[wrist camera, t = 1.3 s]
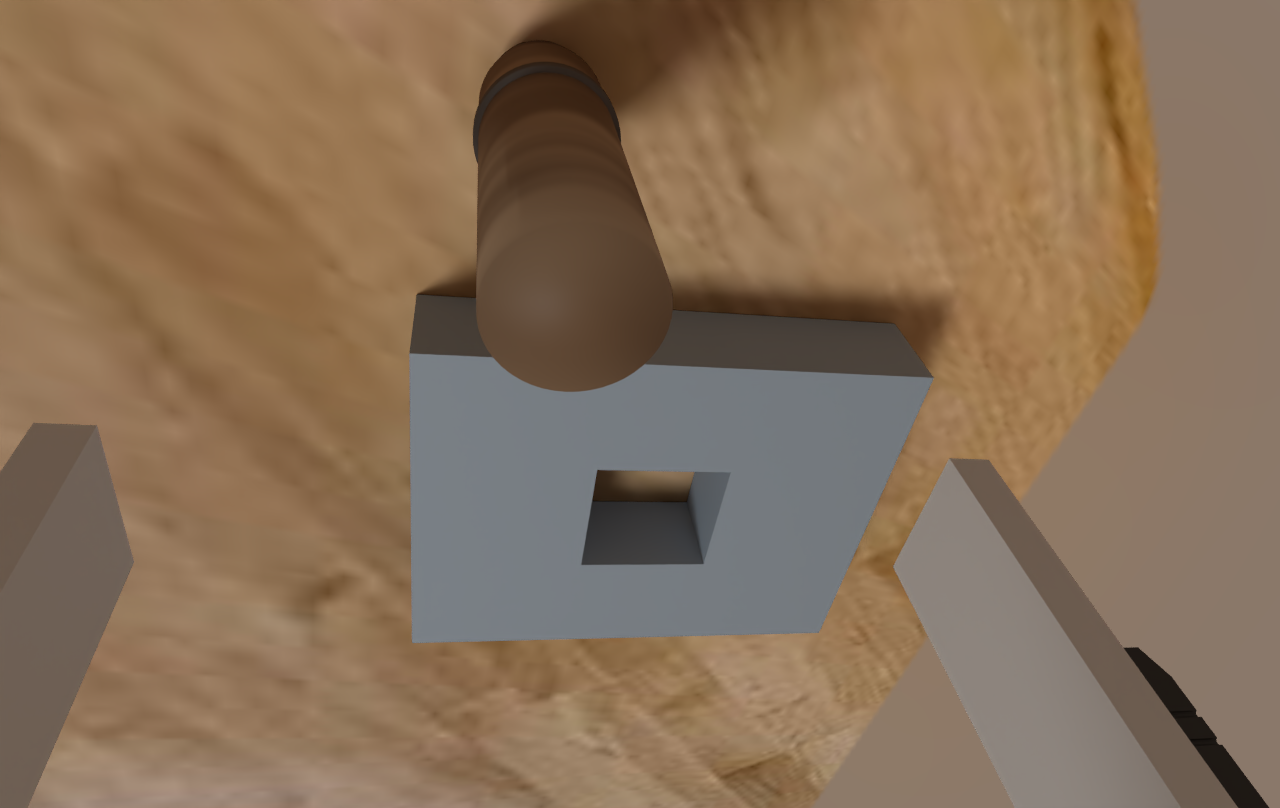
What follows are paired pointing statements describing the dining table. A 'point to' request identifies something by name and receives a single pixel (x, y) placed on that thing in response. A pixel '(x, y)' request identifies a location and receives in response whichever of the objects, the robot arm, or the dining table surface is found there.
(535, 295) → the peg
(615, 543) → the seat board
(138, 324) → the dining table surface
